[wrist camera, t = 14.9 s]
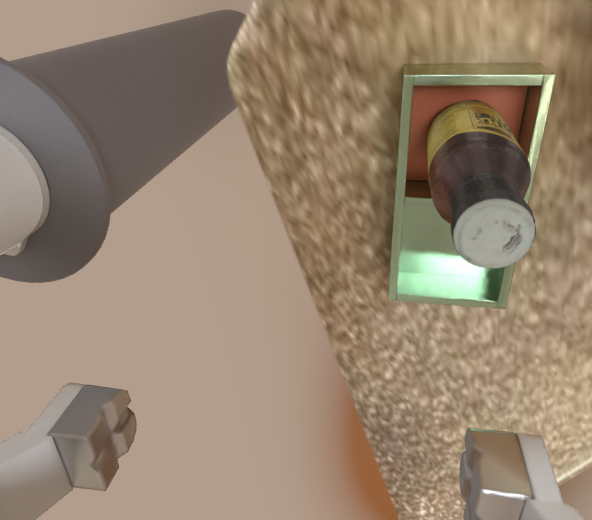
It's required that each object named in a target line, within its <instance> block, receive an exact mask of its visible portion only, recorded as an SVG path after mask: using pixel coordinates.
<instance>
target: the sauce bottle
mask: <svg viewBox="0 0 592 520" xmlns="http://www.w3.org/2000/svg"><path fill="white" fill-rule="evenodd" d="M427 152H428V179H429V186H430V189H431V197H432V201H433V204H434V207H435V208H436V210H437V212H438V213H439V214H440V216H441V218H443V219H444V220H445V221H447V222H448V223H450V224H451V235H452V240H453V243H454V246H455V249H456V250H457V252H458V253H459V254H460V255H461V257H462V258H463V259H464V260H465V261H467V262H468V263H470V264H472V265H474V266H477V267H483V268H501V267H505V266H508V265H510V264H513V263H515V262H517V261H518V260H519V259H521V258H522V257H524V256H525V254H527V253H528V251H529V250H530V248H531V246H532V244H533V241H534V238H535V235H536V226H535V219H534V217H533V213H532V211H531V209H530V207H529V206H528V204H527V203H526V201H525V200H524V197H525V195H526V192H527V190H528V187H529V185H530V181H531V168H530V164H529V161H528V159H527V157H526V155H525V153H524V152H523V150H522V148H521V147H520V145H519V143H518V141H517V140H516V138H515V136H514V135H513V134H512V132H511V130H510V129H509V127H508V126H507V124H506V122H505V121H504V119H503V118H502V116H501V115H500V113H499V112H498V111H497V110H496V109H494V108H493V107H492V106H490V105H488V104H486V103H482V102H481V101H478V100H472V101H461V102H457V103H454V104H451V105H449V106H447V107H446V108H444V109H443V110H442V111H441V112H440V114H438V116H437V117H436V118H435V119H434V121H433V123H432V125H431V127H430V130H429V133H428V138H427Z"/></svg>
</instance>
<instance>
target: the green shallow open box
mask: <svg viewBox="0 0 592 520" xmlns="http://www.w3.org/2000/svg"><path fill="white" fill-rule="evenodd" d="M555 78H556V74H554V73H553V72H552V71H550V70H549V69H548V68H546V67H545V66H543V65H542V64H541V63H497V64H404V67H403V82H402V96H401V111H400V125H399V140H398V154H397V168H396V183H395V197H394V212H393V226H392V241H391V255H390V270H389V287H388V300H397V301H407V302H420V303H433V304H446V305H459V306H472V307H485V308H500V309H505V308H506V304H507V300H508V295H509V290H510V286H511V281H512V277H513V272H514V267H515V263H516V262H515V263H513V264H510V265H508V266H505V267H501V268H483V267H477V266H474V265H472V264H470V263H468V262H467V261H465V260H464V259H463V258H462V257H461V255H460V254H459V253H458V252H457V250H456V249H455V246H454V243H453V240H452V235H451V224H450V223H448V222H447V221H445V220H444V219H443V218H441V216H440V214H439V213H438V212H437V210H436V208H435V207H434V204H433V201H432V197H431V189H430V186H429V179H428V152H427V138H428V133H429V130H430V127H431V125H432V123H433V121H434V119H435V118H436V117H437V116H438V114H440V112H441V111H442V110H443V109H444V108H446V107H447V106H449V105H451V104H454V103H457V102H461V101H472V100H478V101H481V102H482V103H486V104H488V105H490V106H492V107H493V108H494V109H496V110H497V111H498V112H499V113H500V115H501V116H502V118H503V119H504V121H505V122H506V124H507V126H508V127H509V129H510V130H511V132H512V134H513V135H514V136H515V138H516V140H517V141H518V143H519V145H520V147H521V148H522V150H523V152H524V153H525V155H526V157H527V159H528V161H529V164H530V168H531V181H530V185H529V187H528V190H527V192H526V195H525V197H524V200H525V201H526V203H527V204H528V203H529V198H530V193H531V189H532V184H533V179H534V175H535V170H536V166H537V161H538V156H539V152H540V147H541V142H542V138H543V133H544V129H545V124H546V119H547V115H548V110H549V105H550V101H551V96H552V92H553V87H554V82H555Z"/></svg>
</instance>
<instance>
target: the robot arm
mask: <svg viewBox="0 0 592 520" xmlns="http://www.w3.org/2000/svg"><path fill="white" fill-rule="evenodd" d="M49 206H50V195H49V189H48V185H47V181H46V178H45V176H44V173H43V171H42V169H41V167H40V165H39V164H38V162H37V160H36V159H35V157H34V156H33V155H32V153H31V152H30V151H29V150H28V148H27V147H26V146H25V145H24V144H23V143H22V142H21V141H20V140H19V139H18V138H17V137H16V136H14V135H13V134H12V133H11V132H9V131H8V130H7V129H5V128H4V127H2V126H0V255H2V254H6V255H10V256H15V255H17V254H19V253H21V252H23V250H24V249H25V247H26V244H27V241H28V238H29V236H30V235H31V234H32V233H34V232H35V231H36V230H38V229H39V228H40V227H41V226H42V225H43V223H44V222H45V220H46V218H47V215H48V212H49ZM130 401H131V400H130V397H129V394H128V391H126V390H122V389H115V388H108V387H100V386H93V385H84V384H77V383H68V384H66V385H65V386H63V387H62V389H61V390H60V391H59V392H58V394H57V395H56V396H55V397H54V398H53V400H52V401H51V402H50V403H49V405H48V406H47V407H46V409H45V410H44V411H43V412H42V413H41V414H40V416H39V417H38V418H37V419H36V421H35V422H34V423H33V424H32V425H31V427H30V428H29V429H28V430H27V432H19V433H17V434H16V435H14V436H12V437H10V438H8V439H6V440H5V441H3V442H1V443H0V520H36V519H37V518H38V517H39V516H41V515H42V514H43V513H44V512H46V511H47V510H48V509H49V508H51V507H52V506H53V505H54V504H56V503H57V502H58V501H59V500H60V499H62V498H63V497H64V496H65V495H67V494H68V493H69V492H70V491H72V490H73V488H72V487H74V488H83V489H92V490H100V491H106V490H107V488H108V486H109V484H110V482H111V481H112V479H113V477H114V476H115V474H116V472H117V470H118V468H119V464H118V458H119V457H121V456H122V455H124V454H125V453H127V452H128V451H129V449H130V447H131V445H132V443H133V441H134V437H135V433H136V418H135V414H134V413H133V412H132V411H131V410H130V409H129V408H128V407H127V406H128V405H129V403H130ZM465 447H466V450H465V451H464V452H463V453H462V455H461V461H460V474H459V478H460V492H461V497H462V498H463V500H464V501H465V502H466V505H465V510H464V515H463V518H464V520H586V519H585V518H584V517H583V516H582V515H581V514H580V513H579V512H578V511H577V510H576V509H575V508H574V507H573V506H572V505H570V504H564V503H563V500H562V497H561V494H560V491H559V487H558V484H557V481H556V478H555V475H554V471H553V468H552V465H551V462H550V459H549V455H548V452H547V449H546V446H545V443H544V439H543V438H542V437H541V436H540V435H532V434H523V433H514V432H506V431H496V430H486V429H476V428H468V429H467V431H466V435H465Z"/></svg>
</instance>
